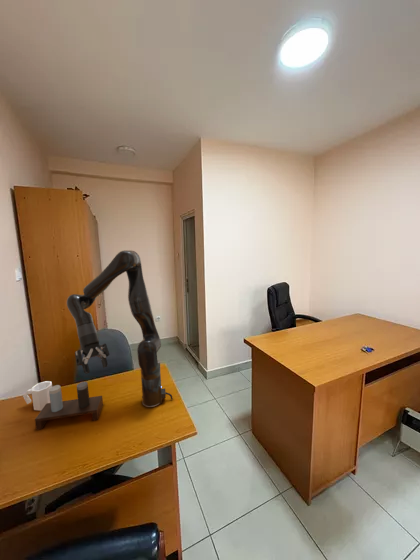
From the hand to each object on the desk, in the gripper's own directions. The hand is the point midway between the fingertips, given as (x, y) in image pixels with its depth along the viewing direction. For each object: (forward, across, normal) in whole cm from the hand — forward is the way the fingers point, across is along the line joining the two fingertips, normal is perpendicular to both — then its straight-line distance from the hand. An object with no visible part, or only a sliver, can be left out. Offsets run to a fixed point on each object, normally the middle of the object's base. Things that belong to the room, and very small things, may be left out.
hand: (96, 370), depth 100 cm
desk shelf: (+15, -3, +21) cm, 26 cm away
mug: (+5, -6, +40) cm, 41 cm away
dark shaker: (+12, 0, +15) cm, 19 cm away
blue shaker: (+9, -7, +23) cm, 25 cm away
